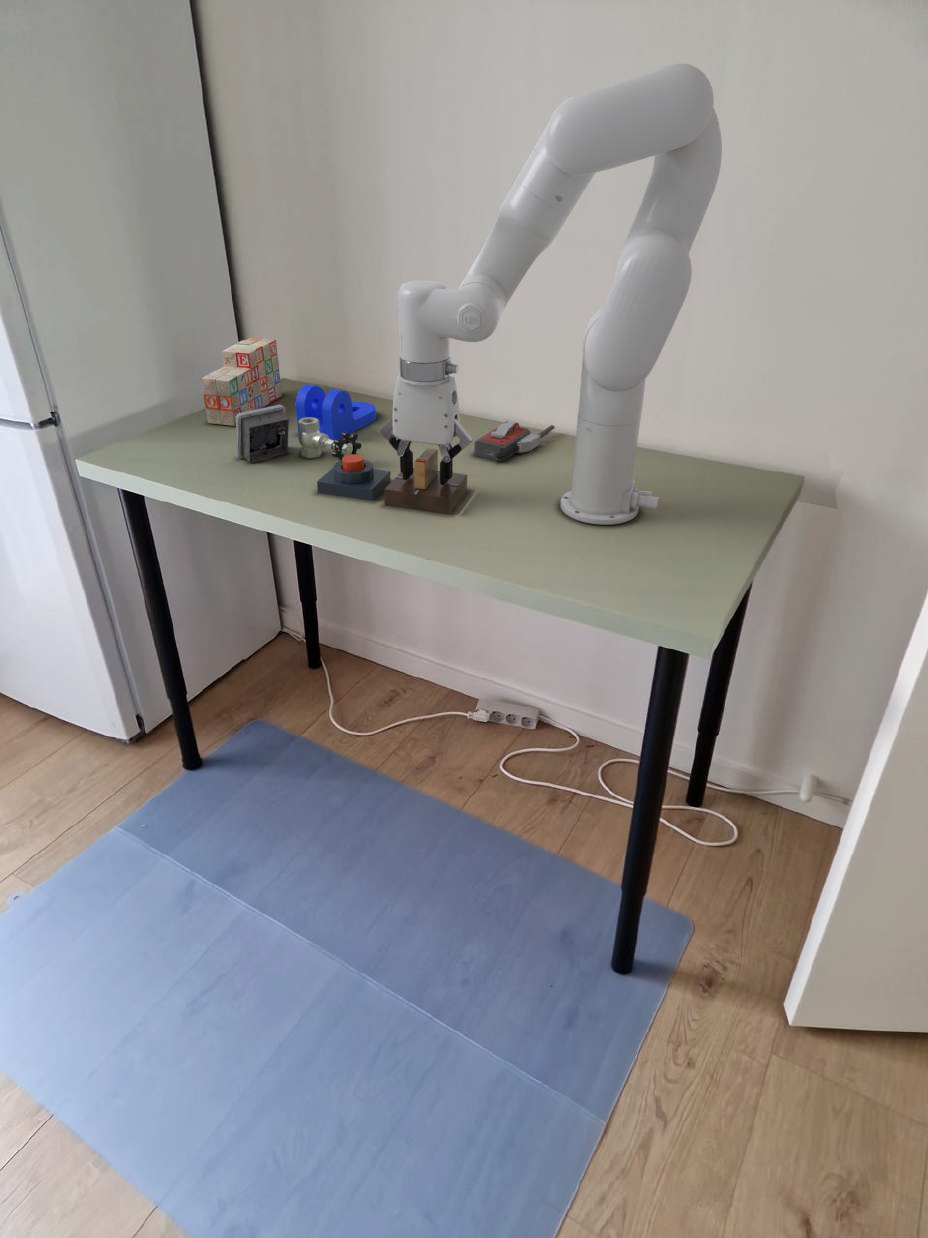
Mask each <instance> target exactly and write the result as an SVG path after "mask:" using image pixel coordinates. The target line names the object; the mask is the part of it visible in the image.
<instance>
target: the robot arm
mask: <svg viewBox="0 0 928 1238" xmlns="http://www.w3.org/2000/svg"><path fill="white" fill-rule="evenodd" d="M714 97H715V96H714V91H713V87H712V85H711V81H710V80H709V78H708V76H707V75H706V73H704V72H703V70H701V69H700V68H698V67H696V66H694V65H692V64H690V63H674V64H669V65H667V66H664V67H661V68H660V69H659V68H658V69H656V70H654V71H651V72H647V73H645V74H641V75H639V76H636V77H633V78H630V79H627V80H624V81H621V82H619V83H615V84H613V85H609V86H606V87H602V88H599V89H596V90H593V91H588V92H585V93H581V94H576V95H572V96H570V97H568V98H566V99H565V100H564V101H562V102H561V103H560V104H559V105H558V106H557V107H556V108H555V110H554V111H553V113H551V116H550V119H549V121H548V123H547V125H546V126H545V128H544V129H543V131H542V133H541V135H540V137H539V139H538V140H537V142H536V144H535V145H534V148H533V149H532V150H531V153H530V154H529V156H528V158H527V159H526V161H525V163H524V165H523V166H522V168H521V170H520V172H519V174H518V176H516V178H515V180H514V182H513V183H512V185H511V188H510V189H509V191H508V192H507V194H506V196H505V198H504V199H503V201H502V202H501V205H500V207H499V210H498V213H497V216H496V218H495V221H494V224H493V227H492V229H491V230H490V233H489V234H488V236H487V238H486V240H485V242H484V244H483V245H482V247H481V249H480V251H479V253H478V255H477V256H476V258H475V260H474V261H473V263H472V265H471V266H470V268H469V269H468V272H467V273H466V275H465V276H464V279H463V280H462V282H461V283H460V285H459V286H458V287H457V288H448V287H447V286H446V285H445V284H444V283H442V282H440V281H436V280H428V279H427V280H425V279H423V280H422V279H421V280H411V281H406V282H404V283H403V284H401V285H400V287H399V288H398V291H397V313H398V314H397V316H398V345H399V346H398V347H399V374H398V375H397V376H396V379H395V384H394V392H393V398H392V399H393V401H392V416H391V418H390V419H389V420H388V421H387V422H385V424H384V425H383V427H381V428H380V429H379V433H380V434H381V436H383V437H384V439H385V440H386V441H388V442H389V445H390V446H391V447H392V448H393V449H394V450H395V452H396V455H397V456H398V457H399V468H400V472H402V473H403V480H407V479H409V478H410V476H411V475H412V474H413V468H414V453H413V451H412V450H411V445H412V443H419V444H430V445H437V447H438V449H439V452H440V455H441V458H442V459H441V461H440V462H439V471H440V484H441V485H445V484H446V483H447V482H448V480H449V479H451V478H452V474H453V473H454V472H453V471H454V470H453V468H454V467H453V466H454V464H453V462H454V461H453V460H454V458H455V457H456V456H458V454H460V453H461V452H462V451H463V450H465V449H466V448H467V447H468V446H470V444H471V443H472V442H473V437H472V436H471V435H470V434H469V432H468V431H467V430H466V428H465V427H464V426H463V425H462V423H461V417H460V416H461V415H460V403H459V395H458V387H457V383H456V379H455V377H454V376H453V374H458V372H459V364H457V363H453V362H452V360H451V359H452V358H451V357H450V339H453V340H456V341H461V342H467V343H479V342H483V341H485V340H486V339H488V338H489V337H491V336H492V335H493V334H494V332H495V331H496V329H497V327H498V325H499V322H500V320H501V317H502V314H503V312H504V310H505V308H506V307H507V305H508V303H509V302H510V300H511V298H512V297H513V295H514V294H515V292H516V290H517V289H518V287H519V285H520V283H521V282H522V281H523V279H524V277H525V276H526V274H527V272H528V271H529V269H530V268H532V267H531V266H532V265H533V264H534V263H535V261H536V259H538V257H539V256H540V255H541V254H542V253H544V251H546V250H547V248H549V247H550V246H551V244H552V243H553V241H554V240H555V239H556V237H557V235H558V234H559V232H560V231H561V229H562V228H563V226H564V225H565V223H566V221H567V220H568V218H569V216H570V214H571V213H572V211H573V210H574V208H575V207H576V205H577V203H578V202H579V200H580V199H581V197H582V195H583V194H584V193H585V190H586V189H587V187H589V186H588V185H589V184H590V183H591V181H592V179H593V178H594V177H595V175H596V173H599V172H603V171H607V170H611V169H615V168H618V167H621V166H625V165H629V164H631V163H635V162H638V161H641V160H645V159H648V158H651V157H654V159H653V160H654V161H653V167H652V171H651V175H650V178H649V180H648V183H647V185H646V188H645V191H644V193H643V196H642V200H641V202H640V205H639V207H638V210H637V212H636V214H635V217H634V219H633V222H632V224H631V227H630V229H629V230H628V233H627V236H626V238H625V240H624V242H623V243H622V246H621V248H620V250H619V252H618V254H617V257H616V262H615V276H614V278H613V281H612V285H611V287H610V289H609V292H608V295H607V297H606V299H605V301H604V303H603V304H604V305H603V307H601V308H600V309H599V310H598V311H596V312H595V313H594V314H593V316H591V318H590V320H589V322H588V323H587V326H586V328H585V331H584V335H583V341H582V360H581V361H582V362H581V375H580V390H579V399H578V412H577V420H576V432H575V444H574V455H573V465H572V476H571V488H570V489H571V490H569V491H567V492H565V493H564V494H563V495H562V496H561V497H560V505H559V506H560V510H561V512H563V513H564V514H565V515H566V516H568V517H569V518H571V519H573V520H576V521H578V522H582V523H586V524H591V525H598V526H599V525H600V526H612V525H619V524H624V523H627V522H629V521H631V520H633V519H634V518H636V517H637V515H638V514H639V508H646V509H650V510H658V506H659V500H660V497H659V496H653V491H649V490H648V491H647V490H639V488H636V480H635V479H633V478H634V473H635V464H636V456H637V449H638V443H639V442H638V441H639V433H640V426H641V419H642V413H643V406H644V397H645V387H646V379H647V378H648V376H649V375H650V374H651V372H652V371H653V369H654V367H655V365H656V363H657V361H658V359H659V357H660V355H661V353H662V351H663V349H664V346H665V344H666V342H667V340H668V338H669V336H670V334H671V332H672V329H673V327H674V325H675V323H676V320H677V319H678V316H679V314H680V312H681V309H682V307H683V305H684V304H685V300H686V298H687V295H688V292H689V289H690V286H691V282H692V273H693V266H692V260H691V257H690V252H691V249H692V247H693V245H694V242H695V240H696V237H697V235H698V232H699V230H700V228H701V225H702V223H703V220H704V217H705V216H706V213H707V210H708V208H709V205H710V203H711V200H712V198H713V195H714V193H715V190H716V188H717V187H716V186H717V183H718V181H719V177H720V172H721V166H722V157H723V144H722V143H723V142H722V133H721V132H722V131H721V127H720V123H719V118H718V115H717V111H716V110H715V107H714V104H715V103H714V99H715V98H714ZM456 437H457V439H459V441H458V442H457V443H456V444H454V445H453V439H454V438H456Z"/></svg>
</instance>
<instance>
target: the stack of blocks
mask: <svg viewBox="0 0 928 1238" xmlns="http://www.w3.org/2000/svg"><path fill="white" fill-rule="evenodd" d="M221 355H222V361H223V366H222V367H220V368H218V369H216V370H214V371H212V372H210V373H208V374H207V375H205V376H203V377H202V378H201V386H202V392H203V393H202V395H203V401H204V407H205V413H206V417H207V418H206V419H207V423H208V424H213V425H214V424H216V425H223V426H232V427H236V415H237V414H238V413H242V412H247V411H252V410H257V409H261V408H266V406H268V405H269V404H271V403H272V402H274V401H276V400H277V399H279V398H280V397H282V396H283V390H282V382H281V374H280V373H281V372H280V362H279V355H278V348H277V340H276V339H274V338H273V339H272V338H264V337H263V338H261V337H248V338H246V339H243V340H240V341H237V343H235V344H233V345H230V346H229V347H228V348H225V349H223V350H222V351H221Z"/></svg>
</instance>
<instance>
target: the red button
mask: <svg viewBox="0 0 928 1238" xmlns="http://www.w3.org/2000/svg"><path fill="white" fill-rule="evenodd" d="M356 454H357V453H356ZM356 454H352V455H351V454H348V455H347V454H345V455H344V457H343V458H342V465H343V470H345V471H359V470H362V469H364V460H365V458H364V456H362V455H361V454H358V455H356Z"/></svg>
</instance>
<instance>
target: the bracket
mask: <svg viewBox="0 0 928 1238" xmlns="http://www.w3.org/2000/svg"><path fill="white" fill-rule="evenodd" d="M295 413H296V423H297V432H298V433H297V434H298V435H299V432H300V431H299V425H298V422H299V420H300V419H302V418H307V417H313V418H316V419H318V420H319V426H320V428H319V431H320V433H323V434H327V435H328V436H329V438H330V440H333V441H335V439H339V440H342V439H343V438H344V436H342V432H344V431H345V432H348V433H349V434H351V433H355V432H356V431H358V430H360V429H361V428H364V427H365V426H367V425H369V424H371V423H372V422H374V421H375V420H376V419H377V407H376V406H375V405H374V403H373V404H372V403H370V402H366V401H353V400H352V398H351V396H350V394H349V392H347V391H346V390H341V389H335V388H333V389H331V390H329V391H328V392H327V393H325V391H324V389H323V388H322V387H321V386H319V385H315V384H304V385H302V387H300V388H299V390H298V391H297V395H296V397H295Z"/></svg>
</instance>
